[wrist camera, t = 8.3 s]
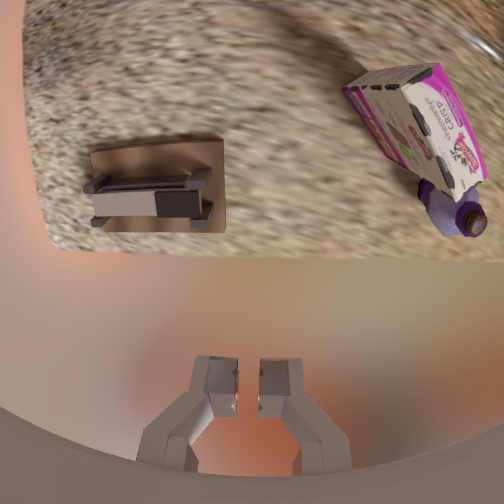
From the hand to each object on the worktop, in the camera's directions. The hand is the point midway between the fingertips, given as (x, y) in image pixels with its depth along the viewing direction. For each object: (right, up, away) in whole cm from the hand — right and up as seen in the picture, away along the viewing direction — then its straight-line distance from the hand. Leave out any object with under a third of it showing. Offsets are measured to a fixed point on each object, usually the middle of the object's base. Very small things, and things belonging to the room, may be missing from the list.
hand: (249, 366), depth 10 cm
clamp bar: (-13, +10, +22) cm, 27 cm away
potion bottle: (+26, +14, +25) cm, 39 cm away
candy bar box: (+16, +22, +21) cm, 34 cm away
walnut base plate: (-12, +13, +27) cm, 32 cm away
